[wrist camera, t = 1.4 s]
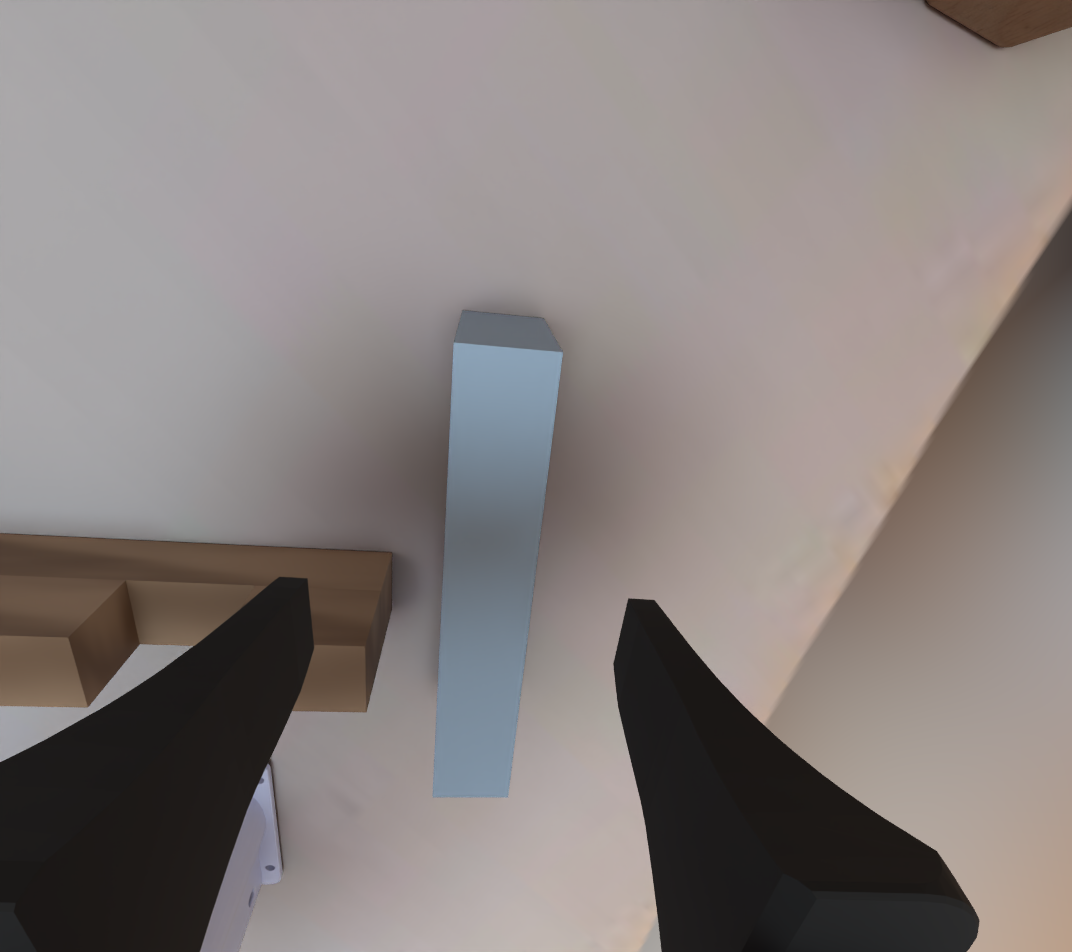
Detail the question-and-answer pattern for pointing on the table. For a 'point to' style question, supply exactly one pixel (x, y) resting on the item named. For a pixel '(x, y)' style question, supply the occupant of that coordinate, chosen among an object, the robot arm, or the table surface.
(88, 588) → the walnut beam
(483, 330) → the slate crossbar
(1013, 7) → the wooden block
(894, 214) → the table surface
